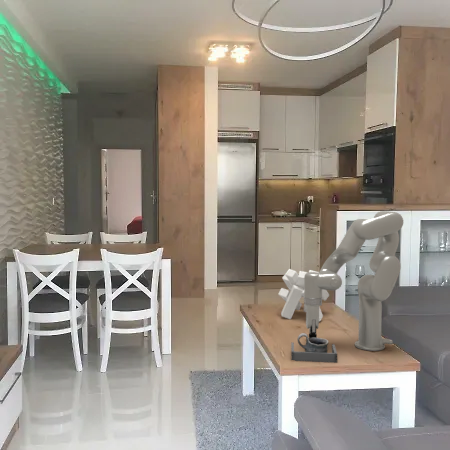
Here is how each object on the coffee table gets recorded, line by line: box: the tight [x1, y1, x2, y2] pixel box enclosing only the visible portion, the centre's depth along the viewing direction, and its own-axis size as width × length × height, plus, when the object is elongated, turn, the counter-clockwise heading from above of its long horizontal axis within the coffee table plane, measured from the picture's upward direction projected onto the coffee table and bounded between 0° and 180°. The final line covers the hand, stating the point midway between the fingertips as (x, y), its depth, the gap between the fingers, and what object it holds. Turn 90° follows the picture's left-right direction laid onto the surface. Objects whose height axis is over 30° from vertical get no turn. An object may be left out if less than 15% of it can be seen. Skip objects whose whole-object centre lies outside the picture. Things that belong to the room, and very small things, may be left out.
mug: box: [297, 332, 329, 353], centre depth 200 cm, size 10×12×10 cm
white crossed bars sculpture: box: [277, 268, 330, 322], centre depth 268 cm, size 35×30×35 cm
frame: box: [290, 342, 338, 364], centre depth 202 cm, size 18×13×4 cm
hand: (312, 343), depth 212 cm, fingers closed
